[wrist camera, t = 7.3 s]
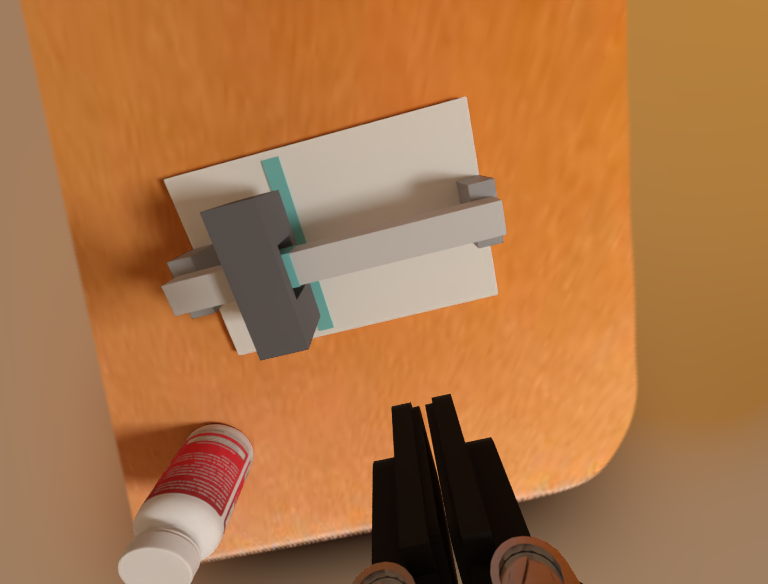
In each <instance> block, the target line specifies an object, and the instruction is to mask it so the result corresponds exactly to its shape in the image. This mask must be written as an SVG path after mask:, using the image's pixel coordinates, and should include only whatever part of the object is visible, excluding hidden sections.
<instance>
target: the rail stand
mask: <svg viewBox="0 0 768 584" xmlns="http://www.w3.org/2000/svg"><path fill="white" fill-rule="evenodd" d="M164 182H165V185H166V187H167V189H168V192H169V194H170V196H171V199H172V201H173V203H174V206H175V208H176V210H177V213H178V215H179V217H180V220H181V222H182V224H183V227H184V229H185V231H186V233H187V236H188V238H189V240H190V243H191V245H192V247H193V249H192V250H190V251H188V252H186V253H184V254H182V255H181V256H179V257H177V258H175V259H173V260H171V261H169V262H167V265H168V267H169V269H170V271H171V273H172V275H173V278H174V279H172V280H170V281H169V282H167V283H165V284H164V285H162V286H161V287H162V289H163V291H164V294H165V296H166V298H167V300H168V302H169V304H170V306H171V308H172V310H173V313H174V315H175V316H178V315H182V314H186V313H190V315H191V317H192V319H193V318H197V317H201V316H205V315H209V314H213V313H215V312H216V311H217V310H220V313H221V315H222V317H223V320H224V322H225V324H226V327H227V329H228V331H229V334H230V336H231V338H232V341H233V343H234V345H235V348H236V350H237V352H238V354H239V355H243V354H247V353H252V352H256V349H255V346H254V344H253V341H252V339H251V337H250V334H249V332H248V329H247V327H246V324H245V322H244V320H243V317H242V315H241V312H240V310H239V307H238V305H237V302H236V300H235V298H234V295H233V293H232V290H231V288H230V285H229V283H228V281H227V278H226V276H225V273H224V271H223V268H222V266H221V263H220V261H219V259H218V256H217V254H216V251H215V249H214V246H213V244H212V242H211V239H210V237H209V234H208V232H207V229H206V227H205V224H204V222H203V220H202V217H201V215H200V212H202V211H205V210H208V209H212V208H215V207H218V206H221V205H224V204H227V203H230V202H233V201H237V200H241V199H244V198H248V197H252V196H256V195H259V194H263V193H267V192H271V191H275V190H279V193H280V196H281V199H282V202H283V205H284V208H285V211H286V214H287V217H288V220H289V223H290V226H291V229H292V232H293V235H294V237H295V240H296V243H297V246H296V245H294V246H290V247H286V248H282V249H279V251H280V254H281V257H282V260H283V263H284V265H285V268H286V271H287V274H288V277H289V280H290V282H291V285H292V288H296V287H300V286H301V285H304V284H308V283H310V285H311V288H312V291H313V294H314V297H315V300H316V303H317V306H318V309H319V312H320V315H321V316H320V319H319V322H318V325H317V327H316V330H315V333H314V336H313V338H315V337H320V336H324V335H328V334H332V333H337V332H341V331H345V330H349V329H354V328H358V327H362V326H366V325H371V324H375V323H379V322H383V321H388V320H392V319H396V318H400V317H405V316H409V315H413V314H417V313H422V312H426V311H430V310H435V309H439V308H443V307H447V306H452V305H456V304H460V303H464V302H469V301H473V300H477V299H481V298H486V297H490V296H494V295H498V290H497V284H496V277H495V271H494V265H493V259H492V253H491V245H495V244H499V243H503V242H504V241H503V235H507V233H506V226H505V219H504V212H503V205H502V200H501V199H498V198H497V194H496V187H495V180H494V178H490V177H486V176H481V175H479V172H478V165H477V159H476V153H475V147H474V140H473V134H472V128H471V122H470V116H469V109H468V103H467V97H463V98H459V99H455V100H452V101H448V102H444V103H441V104H437V105H433V106H430V107H426V108H422V109H419V110H415V111H411V112H408V113H404V114H401V115H397V116H393V117H390V118H386V119H382V120H379V121H375V122H371V123H368V124H364V125H360V126H357V127H353V128H349V129H346V130H342V131H339V132H335V133H331V134H328V135H324V136H320V137H317V138H313V139H309V140H306V141H302V142H298V143H295V144H291V145H288V146H284V147H280V148H277V149H273V150H269V151H266V152H262V153H258V154H255V155H251V156H247V157H244V158H240V159H236V160H233V161H229V162H226V163H222V164H218V165H215V166H211V167H207V168H204V169H200V170H196V171H193V172H189V173H185V174H182V175H178V176H174V177H171V178H167V179H164Z"/></svg>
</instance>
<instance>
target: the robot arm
mask: <svg viewBox="0 0 768 584" xmlns="http://www.w3.org/2000/svg"><path fill="white" fill-rule="evenodd" d="M432 402H433V403H431V404H426V405H425V406H426V412H427V417H428V423H429V428H430V433H431V439H432V444H433V449H434V455H435V460H436V465H437V471H438V475H437V471H436V468H435V464H434V460H433V456H432V452H431V448H430V445H429V441H428V437H427V433H426V429H425V425H424V422H423V418H422V414H421V410H420V407H419V406H417V407H413V408H412V405H411V402H410V403H406V404H401V405H396V406H392V425H393V442H394V457H393V458H389V459H384V460H379V461H374V463H373V493H372V565H371V566H370V567H368V568H366V569H364V571H362V572H361V573H360V574H359V575H358V576H357V577H356V578H355V580H354V581H353V583H352V584H458V580H457V574H456V569H455V564H454V558H453V553H452V547H451V542H452V546H453V550H454V554H455V558H456V562H457V565H458V569H459V572H460V577H461V580H462V583H463V584H582V583H581V582H579V581H578V579H577V577H576V576H575V574H574V573H573V571H572V569H571V568H570V566H569V564H568V563H567V561H566V560H565V559H564V557H563V556H562V555H561V554H560V553H559V551H558V550H557V549H555V548H554V547H553V546H551V545H550V544H549V543H547V542H545V541H542V540H540V539H538V538H535V537H531V536H530V533H529V531H528V528H527V526H526V523H525V521H524V518H523V516H522V513H521V510H520V508H519V506H518V503H517V500H516V498H515V495H514V493H513V490H512V487H511V485H510V482H509V480H508V477H507V475H506V472H505V470H504V467H503V465H502V462H501V459H500V457H499V454H498V452H497V449H496V447H495V444H494V442H493V440H492V438H491V437H490V438H485V439H480V440H476V441H471V442H466V443H465V441H464V437H463V434H462V431H461V427H460V424H459V421H458V417H457V414H456V410H455V407H454V404H453V400H452V397H451V394H447V395H442V396H438V397H433V398H432ZM438 476H439V479H438ZM439 481H440V484H439ZM440 487H441V488H440ZM441 492H442V494H441ZM442 497H443V499H442ZM443 503H444V504H443ZM444 508H445V510H444ZM445 513H446V515H445ZM446 519H447V521H446ZM447 524H448V526H447ZM448 529H449V531H448ZM449 534H450V537H449ZM450 538H451V542H450Z"/></svg>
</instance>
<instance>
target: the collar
mask: <svg viewBox="0 0 768 584" xmlns="http://www.w3.org/2000/svg"><path fill="white" fill-rule="evenodd" d="M200 215H201V217H202V220H203V222H204V224H205V227H206V229H207V232H208V234H209V237H210V239H211V242H212V244H213V246H214V249H215V251H216V254H217V256H218V259H219V261H220V263H221V266H222V268H223V271H224V273H225V276H226V278H227V281H228V283H229V285H230V288H231V290H232V293H233V295H234V298H235V300H236V302H237V305H238V307H239V310H240V312H241V315H242V317H243V320H244V322H245V324H246V327H247V329H248V332H249V334H250V337H251V339H252V341H253V344H254V346H255V349H256V351H257V354H258V356H259V359H260V361H261V360H265V359H269V358H274V357H278V356H282V355H286V354H291V353H295V352H299V351H304V350H308V349H309V347H310V344H311V341H312V338H313V336H314V333H315V330H316V327H317V325H318V322H319V319H320V316H321V315H320V312H319V309H318V306H317V303H316V300H315V297H314V294H313V291H312V288H311V285H310V283H308V284H304V285H301V286H300V287H296V288H292V285H291V282H290V280H289V277H288V274H287V271H286V268H285V265H284V263H283V260H282V257H281V254H280V251H279V249H282V248H286V247H290V246H294V245H296V246H297V243H296V240H295V237H294V235H293V232H292V229H291V226H290V223H289V220H288V217H287V214H286V211H285V208H284V205H283V202H282V199H281V196H280V193H279V190H275V191H271V192H267V193H263V194H259V195H256V196H252V197H248V198H244V199H241V200H237V201H233V202H230V203H227V204H224V205H221V206H218V207H215V208H212V209H208V210H205V211H202V212H200Z"/></svg>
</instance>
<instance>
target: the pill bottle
mask: <svg viewBox="0 0 768 584" xmlns="http://www.w3.org/2000/svg"><path fill="white" fill-rule="evenodd" d="M253 456H254V454H253V448H252V445H251V443H250V441H249V440H248V439H247V437H246V436H245V435H244V434H243V433H242V432H240V431H239V430H237V429H235V428H233V427H230V426H226V425H221V424H211V425H206V426H202V427H200V428H198V429H196V430H195V431H193V432H192V433H191V434H190V435H189V437H188V438H187V439H186V441H185V442H184V444H183V445H182V446H181V448H180V449H179V451H178V452H177V454H176V455H175V457H174V458H173V460H172V461H171V463H170V464H169V466H168V467H167V469H166V470H165V472H164V473H163V475H162V476H161V478H160V479H159V481H158V482H157V484H156V485H155V487H154V488H153V490H152V491H151V493H150V494H149V496H148V497H147V499H146V500H145V502H144V503H143V504H142V506H141V508H140V509H139V511H138V513H137V515H136V517H135V520H134V525H133V533H134V537H135V538H134V539H133V540H132V541H131V542H130V544H129V545H128V546H127V548H126V550H125V552H124V553H123V555H122V557H121V559H120V561H119V563H118V572H119V575H120V577H121V578H122V580H123V581H124V582H125V583H126V584H190V583H191V581H192V579H193V577H194V575H195V573H196V571H197V569H198V568H199V565H200V561H202V560H203V559H205V558H207V557H208V556H209V555H210V554H212V553H213V551H214V550H215V549H216V548H217V546H218V545H219V543H220V541H221V539H222V537H223V534H224V531H225V529H226V527H227V524H228V522H229V519H230V517H231V514H232V512H233V509H234V507H235V504H236V502H237V500H238V497H239V495H240V492H241V490H242V487H243V485H244V483H245V480H246V478H247V475H248V473H249V471H250V468H251V465H252V462H253Z"/></svg>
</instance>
